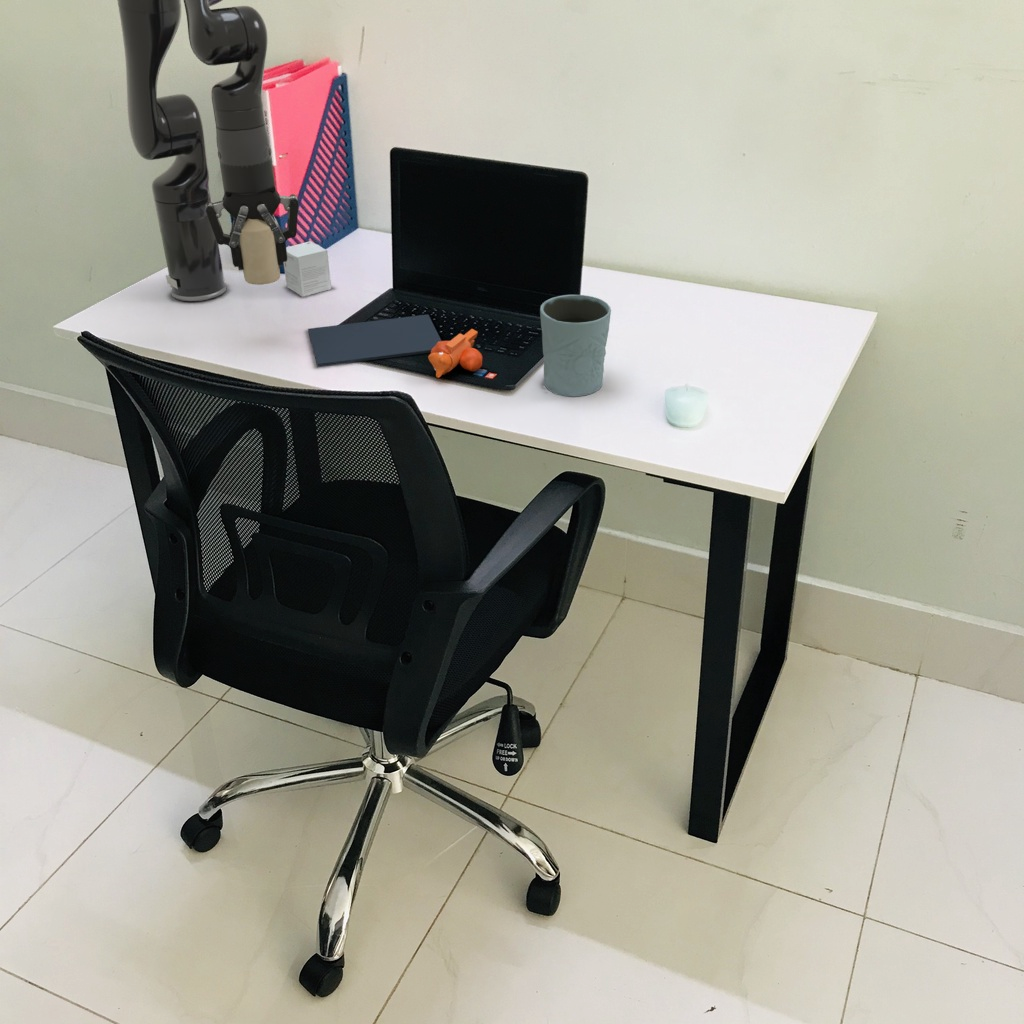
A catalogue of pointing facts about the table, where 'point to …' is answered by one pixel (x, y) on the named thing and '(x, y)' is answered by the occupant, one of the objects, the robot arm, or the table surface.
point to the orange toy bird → (456, 354)
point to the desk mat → (373, 340)
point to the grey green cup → (574, 343)
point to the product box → (307, 269)
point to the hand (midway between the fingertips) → (260, 266)
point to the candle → (259, 253)
